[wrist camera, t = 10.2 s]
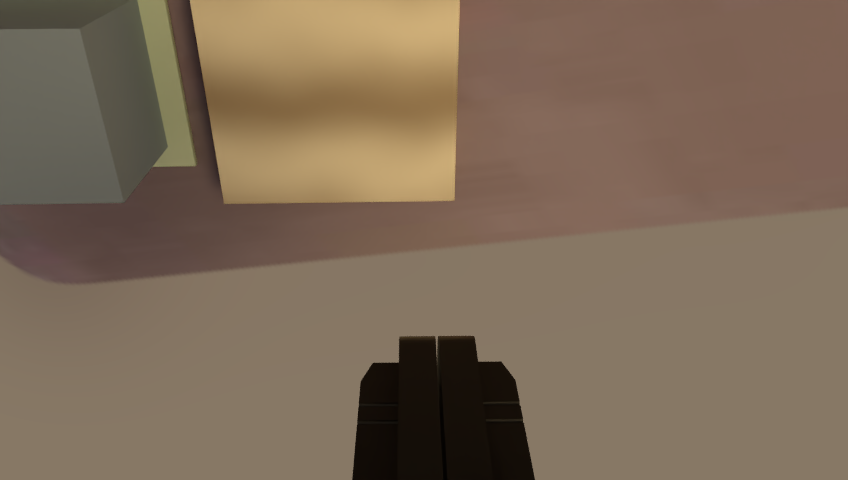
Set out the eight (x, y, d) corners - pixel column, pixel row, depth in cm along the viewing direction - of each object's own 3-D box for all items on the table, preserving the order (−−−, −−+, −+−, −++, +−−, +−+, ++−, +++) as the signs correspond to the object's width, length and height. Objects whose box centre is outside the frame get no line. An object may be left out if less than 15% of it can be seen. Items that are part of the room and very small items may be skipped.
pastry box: (-51, -2, 29) (-149, 30, 24) (136, -3, 29) (79, 28, 24) (1, 149, 32) (-75, 205, 27) (168, 146, 33) (124, 203, 27)
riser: (198, -53, 28) (182, -45, 26) (456, -54, 29) (460, -46, 27) (235, 181, 34) (224, 203, 32) (450, 178, 34) (454, 200, 32)
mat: (-51, -65, 28) (-55, -65, 28) (154, -66, 28) (152, -65, 28) (24, 165, 33) (22, 168, 33) (197, 163, 33) (195, 166, 33)
